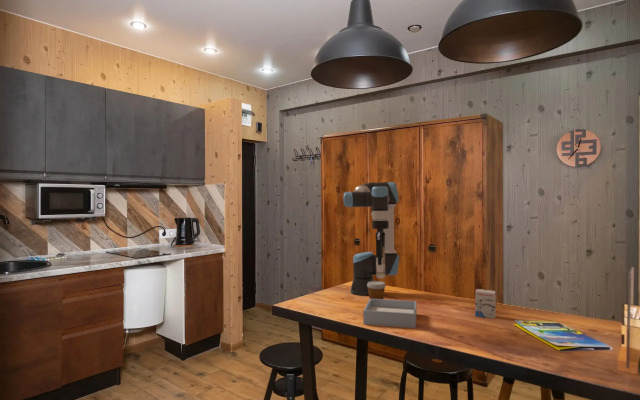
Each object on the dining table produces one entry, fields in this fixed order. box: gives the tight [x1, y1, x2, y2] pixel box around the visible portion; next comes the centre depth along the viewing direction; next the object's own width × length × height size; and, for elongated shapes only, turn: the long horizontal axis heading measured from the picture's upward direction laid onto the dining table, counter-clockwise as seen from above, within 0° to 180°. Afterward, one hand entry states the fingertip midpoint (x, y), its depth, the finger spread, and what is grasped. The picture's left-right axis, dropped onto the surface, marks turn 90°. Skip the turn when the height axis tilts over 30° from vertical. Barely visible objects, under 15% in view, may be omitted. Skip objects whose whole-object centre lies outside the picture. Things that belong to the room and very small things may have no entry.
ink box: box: [474, 288, 497, 320], centre depth 176 cm, size 9×5×12 cm, turn 62°
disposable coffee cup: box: [367, 280, 386, 299], centre depth 194 cm, size 10×10×12 cm
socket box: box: [362, 298, 418, 329], centre depth 174 cm, size 21×22×6 cm
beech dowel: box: [375, 247, 386, 279], centre depth 174 cm, size 4×4×14 cm
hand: (380, 270), depth 174 cm, fingers closed on beech dowel, 4 cm apart
